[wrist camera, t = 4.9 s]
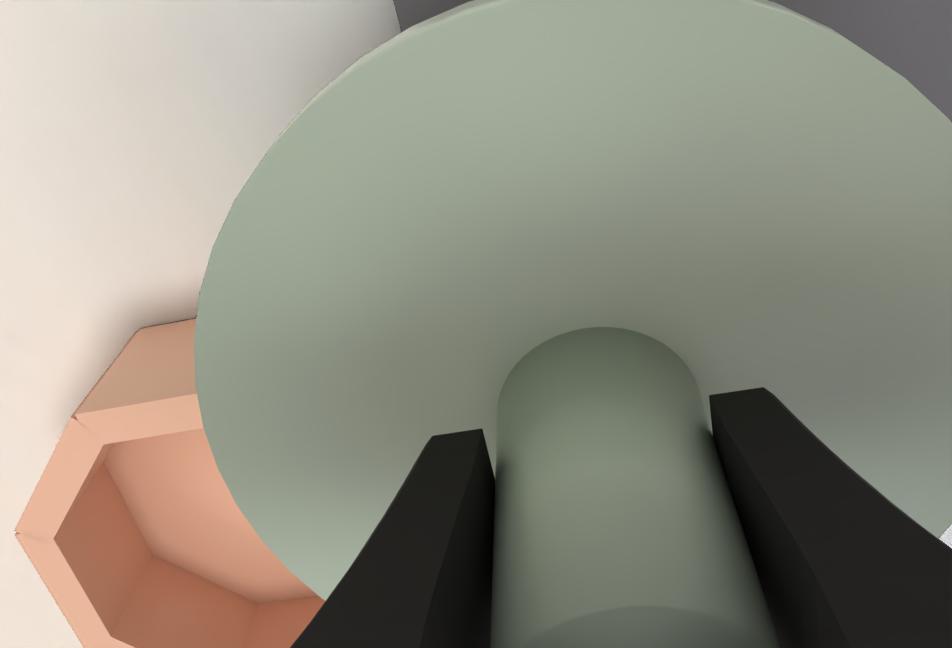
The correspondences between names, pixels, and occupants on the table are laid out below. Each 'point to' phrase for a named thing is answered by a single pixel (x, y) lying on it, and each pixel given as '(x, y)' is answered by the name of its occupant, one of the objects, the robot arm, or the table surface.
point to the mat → (854, 17)
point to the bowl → (154, 519)
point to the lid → (585, 299)
